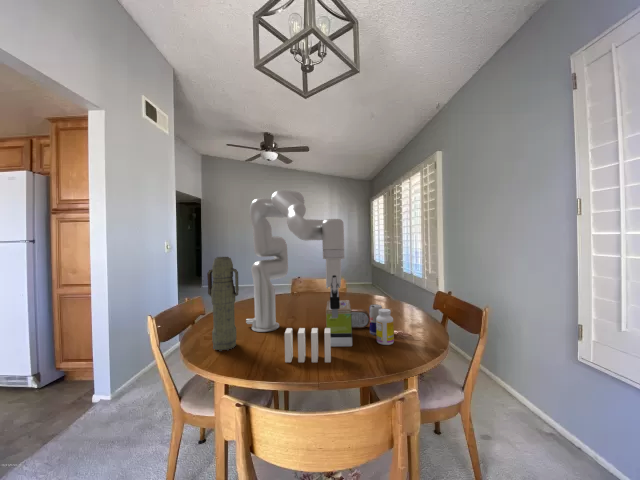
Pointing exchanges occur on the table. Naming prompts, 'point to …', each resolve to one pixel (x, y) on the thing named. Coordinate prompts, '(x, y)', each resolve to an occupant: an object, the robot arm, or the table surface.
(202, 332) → the table surface
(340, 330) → the tea box
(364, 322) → the tin
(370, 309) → the energy drink
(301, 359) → the domino
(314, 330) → the domino
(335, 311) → the domino
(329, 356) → the domino
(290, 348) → the domino
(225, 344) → the thermos
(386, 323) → the supplement bottle
